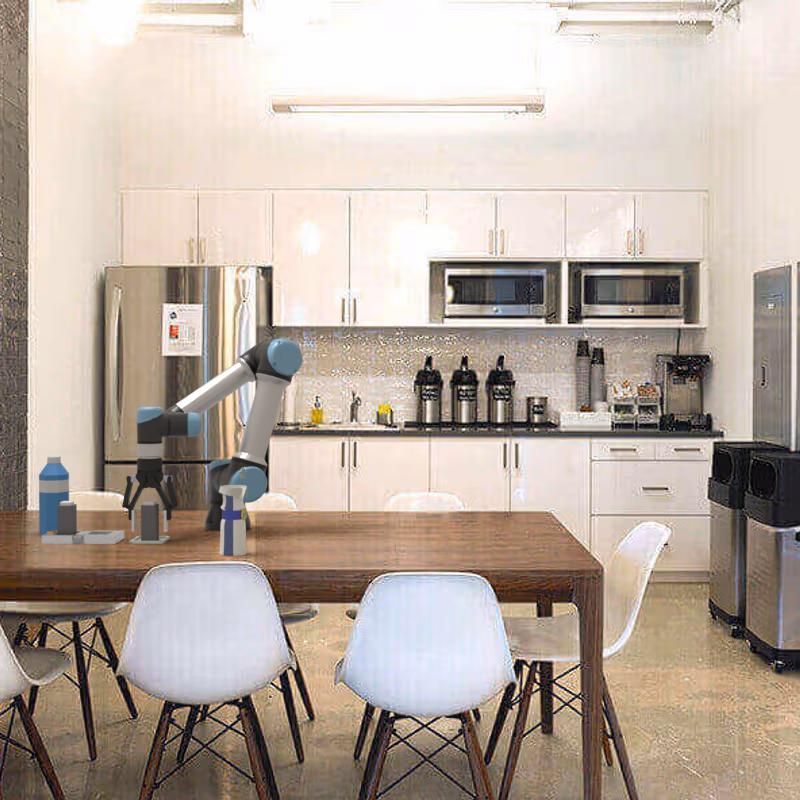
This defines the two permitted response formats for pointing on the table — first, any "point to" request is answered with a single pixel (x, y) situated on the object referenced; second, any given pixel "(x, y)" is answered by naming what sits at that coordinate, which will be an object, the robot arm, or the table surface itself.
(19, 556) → the table surface
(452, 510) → the table surface
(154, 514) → the plug
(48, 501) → the water bottle
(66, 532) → the twin plug
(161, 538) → the tray
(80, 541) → the pdu strip
